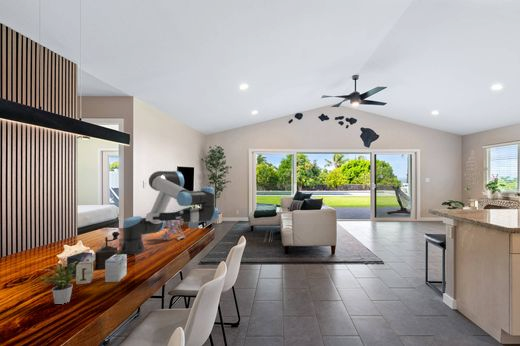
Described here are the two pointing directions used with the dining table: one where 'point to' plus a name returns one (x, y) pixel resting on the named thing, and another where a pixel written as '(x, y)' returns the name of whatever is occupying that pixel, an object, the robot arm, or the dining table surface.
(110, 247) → the manual coffee grinder
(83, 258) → the small box
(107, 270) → the light bulb box
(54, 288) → the house plant
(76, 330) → the dining table surface
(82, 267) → the beige block
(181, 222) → the flower
